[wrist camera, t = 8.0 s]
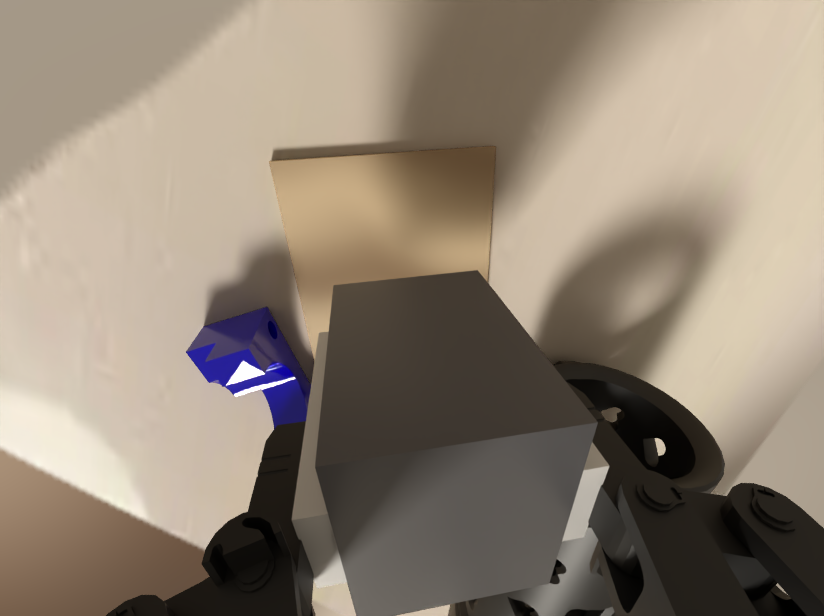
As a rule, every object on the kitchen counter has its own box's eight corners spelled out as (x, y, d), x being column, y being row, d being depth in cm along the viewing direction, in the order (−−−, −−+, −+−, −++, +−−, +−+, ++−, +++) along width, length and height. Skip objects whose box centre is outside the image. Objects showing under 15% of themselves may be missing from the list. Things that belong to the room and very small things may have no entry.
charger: (470, 423, 16) (540, 610, 10) (359, 440, 16) (365, 648, 10) (477, 270, 12) (597, 422, 6) (333, 285, 12) (315, 466, 6)
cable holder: (205, 324, 19) (171, 372, 15) (267, 304, 19) (248, 348, 15) (273, 424, 23) (259, 480, 19) (325, 408, 23) (320, 461, 19)
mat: (479, 367, 23) (481, 371, 22) (321, 388, 22) (321, 393, 21) (493, 146, 16) (496, 146, 16) (271, 160, 15) (268, 161, 15)
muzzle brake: (628, 352, 24) (790, 491, 15) (519, 570, 37) (573, 716, 28) (498, 349, 22) (594, 505, 14) (431, 580, 35) (458, 738, 26)
